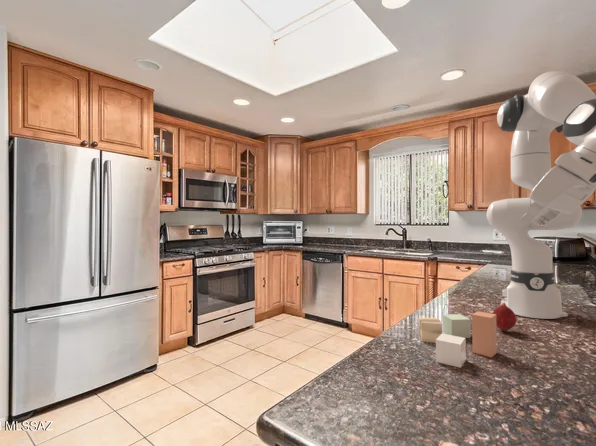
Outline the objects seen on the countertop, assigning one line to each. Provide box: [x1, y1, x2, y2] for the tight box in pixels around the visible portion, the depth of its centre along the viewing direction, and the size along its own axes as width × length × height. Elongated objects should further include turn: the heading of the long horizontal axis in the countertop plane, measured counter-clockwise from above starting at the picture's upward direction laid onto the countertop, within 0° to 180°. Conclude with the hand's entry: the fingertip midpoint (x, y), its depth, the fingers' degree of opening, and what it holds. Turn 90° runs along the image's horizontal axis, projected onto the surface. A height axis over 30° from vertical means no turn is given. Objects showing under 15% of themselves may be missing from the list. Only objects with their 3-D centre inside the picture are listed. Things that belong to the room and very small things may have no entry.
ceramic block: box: [435, 333, 467, 369], centre depth 72 cm, size 5×5×5 cm
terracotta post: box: [471, 310, 498, 358], centre depth 76 cm, size 4×4×9 cm
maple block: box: [418, 316, 443, 344], centre depth 85 cm, size 5×5×5 cm
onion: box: [492, 303, 517, 332], centre depth 91 cm, size 6×6×8 cm
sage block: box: [442, 313, 471, 339], centre depth 88 cm, size 5×5×5 cm
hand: (532, 223), depth 70 cm, fingers open, 8 cm apart
